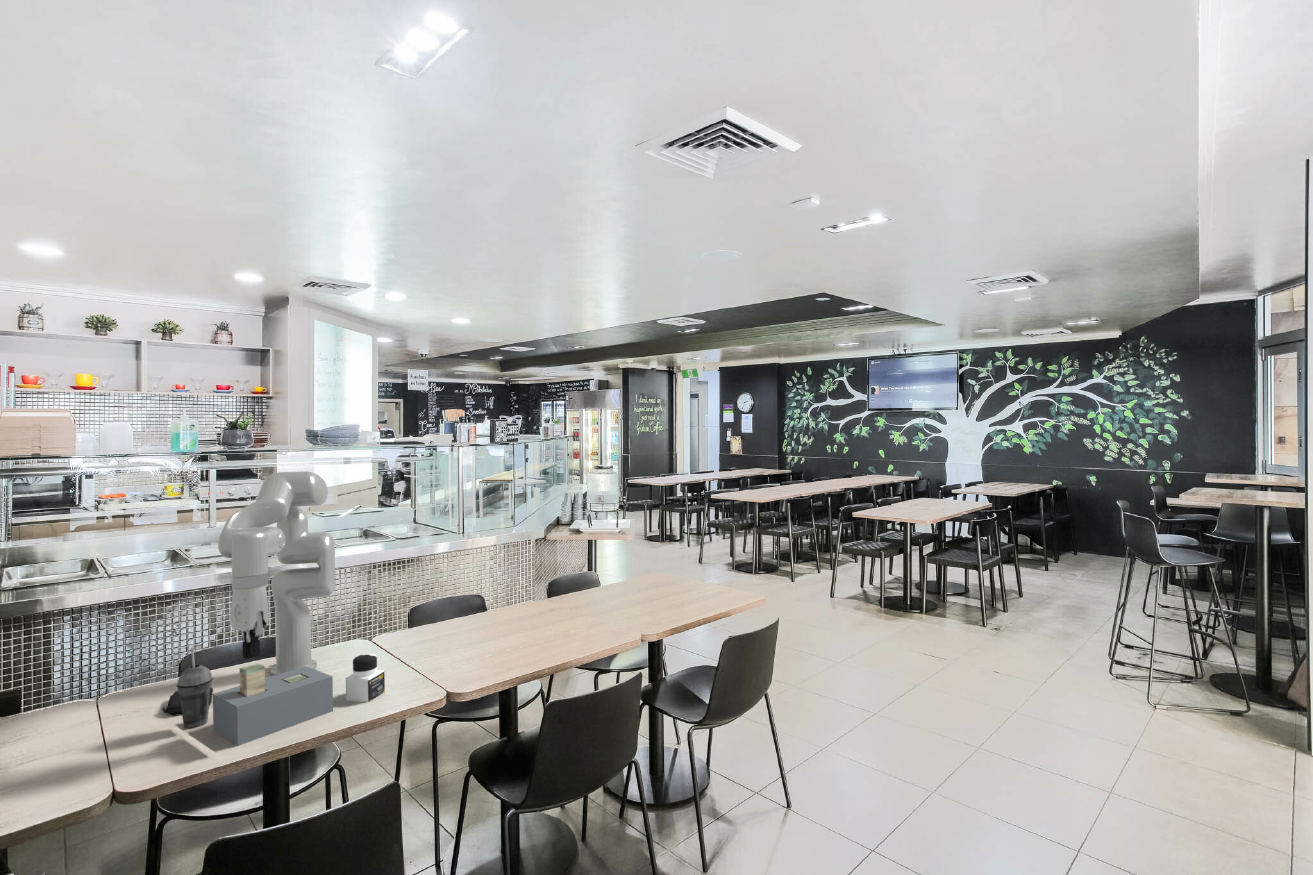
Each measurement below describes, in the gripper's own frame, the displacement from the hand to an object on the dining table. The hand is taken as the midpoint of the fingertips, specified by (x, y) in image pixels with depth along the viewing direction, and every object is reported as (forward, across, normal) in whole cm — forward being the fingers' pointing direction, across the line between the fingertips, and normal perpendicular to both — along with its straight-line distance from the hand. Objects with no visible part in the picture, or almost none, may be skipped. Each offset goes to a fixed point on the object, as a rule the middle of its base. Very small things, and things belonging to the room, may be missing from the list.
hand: (251, 656), depth 153 cm
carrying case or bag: (+19, -34, -2) cm, 39 cm away
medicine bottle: (+19, +4, +26) cm, 33 cm away
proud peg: (+12, 0, 0) cm, 12 cm away
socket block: (+19, -1, +5) cm, 19 cm away
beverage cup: (+19, -16, -7) cm, 25 cm away
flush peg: (+18, -1, +10) cm, 20 cm away
